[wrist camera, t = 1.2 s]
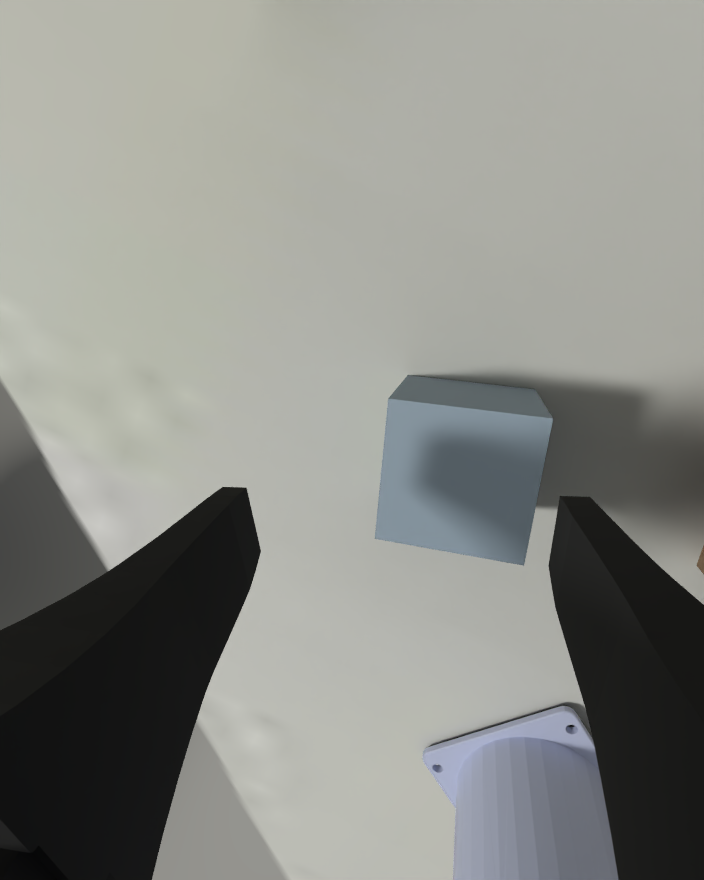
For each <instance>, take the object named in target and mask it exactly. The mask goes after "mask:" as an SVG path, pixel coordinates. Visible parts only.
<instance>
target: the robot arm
mask: <svg viewBox="0 0 704 880" xmlns="http://www.w3.org/2000/svg"><path fill="white" fill-rule="evenodd" d="M260 552H261V550H260V546H259V541H258V537H257V532H256V528H255V524H254V519H253V515H252V510H251V506H250V502H249V497H248V493H247V488H238V487H222V488H221V489H219V490H218V491H216V492H215V493H214V494H212V495H211V496H210V497H208V498H207V499H206V500H204V501H203V502H202V503H201V504H199V505H198V506H197V507H196V508H194V509H193V510H192V511H190V512H189V513H188V514H187V515H185V516H184V517H183V518H181V519H180V520H179V521H178V522H176V523H175V524H174V525H172V526H171V527H170V528H168V529H167V530H166V531H165V532H163V533H162V534H161V535H159V536H158V537H157V538H155V539H154V540H153V541H151V542H150V543H148V544H147V545H146V546H144V547H143V548H141V549H140V550H139V551H137V552H136V553H134V554H133V555H131V556H130V557H129V558H127V559H126V560H124V561H123V562H122V563H120V564H119V565H117V566H116V567H114V568H113V569H111V570H110V571H108V572H107V573H105V574H104V575H102V576H100V577H99V578H97V579H95V580H94V581H92V582H90V583H89V584H87V585H85V586H84V587H82V588H80V589H79V590H77V591H76V592H74V593H72V594H70V595H68V596H67V597H65V598H63V599H61V600H59V601H57V602H55V603H53V604H51V605H50V606H48V607H46V608H44V609H42V610H40V611H38V612H37V613H35V614H32V615H31V616H29V617H27V618H25V619H23V620H21V621H19V622H17V623H15V624H13V625H11V626H8V627H6V628H4V629H2V630H0V880H152V876H153V872H154V868H155V864H156V860H157V856H158V852H159V848H160V844H161V840H162V836H163V832H164V828H165V825H166V821H167V818H168V814H169V810H170V807H171V803H172V799H173V796H174V792H175V789H176V785H177V781H178V778H179V774H180V771H181V768H182V764H183V761H184V758H185V755H186V751H187V748H188V745H189V741H190V738H191V735H192V731H193V728H194V725H195V723H196V720H197V717H198V714H199V711H200V707H201V704H202V701H203V698H204V695H205V692H206V690H207V687H208V685H209V682H210V680H211V677H212V674H213V672H214V670H215V667H216V665H217V663H218V661H219V658H220V656H221V654H222V652H223V649H224V647H225V645H226V643H227V640H228V638H229V636H230V634H231V631H232V629H233V627H234V625H235V622H236V620H237V618H238V616H239V613H240V611H241V609H242V606H243V604H244V602H245V599H246V597H247V595H248V592H249V590H250V587H251V584H252V581H253V577H254V574H255V571H256V567H257V563H258V560H259V556H260ZM549 571H550V577H551V584H552V590H553V596H554V601H555V607H556V611H557V614H558V618H559V621H560V625H561V628H562V631H563V635H564V638H565V641H566V645H567V648H568V651H569V655H570V658H571V661H572V665H573V668H574V671H575V675H576V678H577V681H578V685H579V688H580V691H581V694H582V698H583V701H584V704H585V708H586V712H587V716H588V720H589V723H590V727H591V732H592V737H593V738H592V737H591V735H590V734H589V732H588V731H587V729H586V727H585V726H584V724H583V723H582V721H581V720H580V718H579V716H578V715H577V713H576V712H575V711H574V710H573V709H572V708H570V707H568V706H559V707H556V708H553V709H550V710H547V711H543V712H540V713H537V714H534V715H530V716H527V717H524V718H521V719H517V720H514V721H511V722H508V723H504V724H501V725H498V726H495V727H492V728H488V729H485V730H482V731H479V732H475V733H472V734H469V735H466V736H462V737H459V738H456V739H453V740H449V741H446V742H443V743H440V744H437V745H433V746H430V747H427V748H425V749H424V751H423V762H424V763H425V765H426V766H427V768H428V769H429V771H430V772H431V774H432V775H433V776H434V778H435V779H436V781H437V782H438V784H439V785H440V787H441V788H442V790H443V791H444V792H445V794H446V795H447V797H448V798H449V800H450V801H451V803H452V804H453V805H454V807H455V808H456V814H455V839H454V864H453V880H704V605H703V604H702V603H701V602H700V601H698V600H697V599H696V598H695V597H694V596H693V595H691V594H690V593H689V592H688V591H687V590H686V589H684V588H683V587H682V586H681V585H680V584H679V583H677V582H676V581H675V580H674V579H673V578H672V577H671V576H670V575H668V574H667V573H666V572H665V571H664V570H663V569H662V568H661V567H660V566H659V565H657V564H656V563H655V562H654V561H653V560H652V559H651V558H650V557H649V556H648V555H647V554H646V553H645V552H644V551H643V550H642V549H641V548H640V547H639V546H638V545H637V544H636V543H635V542H634V541H633V540H632V539H631V538H630V537H629V536H628V535H627V534H626V533H625V532H624V531H623V530H622V529H621V528H620V527H619V526H618V525H617V524H616V523H615V522H614V521H613V520H612V519H611V518H610V517H609V516H608V515H607V514H606V513H605V512H604V511H603V510H602V509H601V508H600V507H599V506H598V505H597V504H596V503H595V502H594V501H593V500H592V499H591V498H590V497H572V496H560V500H559V506H558V512H557V518H556V524H555V530H554V536H553V542H552V548H551V554H550V560H549ZM568 725H574V727H568ZM435 764H438V765H440V766H438V765H435Z"/></svg>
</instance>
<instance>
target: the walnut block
mask: <svg viewBox="0 0 704 880" xmlns="http://www.w3.org/2000/svg"><path fill="white" fill-rule="evenodd" d="M697 567H698V568H699V569H700V570H701V572H702V573H703V574H704V546H703V549H702V552H701V554H700V557H699V560H698V563H697Z"/></svg>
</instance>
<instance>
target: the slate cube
mask: <svg viewBox="0 0 704 880" xmlns="http://www.w3.org/2000/svg"><path fill="white" fill-rule="evenodd" d="M552 422H553V418H552V416H551V414H550V413H549V411H548V409H547V408H546V406H545V405H544V403H543V401H542V400H541V398H540V397H539V395H538V393H537V392H536V390H535V389H528V388H519V387H510V386H501V385H492V384H483V383H474V382H465V381H456V380H447V379H438V378H429V377H420V376H411V375H408V376H407V377H406V378H405V379H404V380H403V382H402V383H401V384H400V385H399V386H398V388H397V389H396V390H395V391H394V392H393V394H392V395H391V396H390V397H389V398H388V408H387V418H386V428H385V439H384V449H383V460H382V470H381V480H380V491H379V501H378V512H377V522H376V532H375V539H379V540H385V541H391V542H396V543H402V544H407V545H413V546H418V547H424V548H429V549H435V550H441V551H446V552H452V553H457V554H463V555H468V556H474V557H480V558H485V559H491V560H496V561H502V562H507V563H513V564H519V565H524V563H525V558H526V553H527V548H528V543H529V538H530V533H531V528H532V523H533V518H534V512H535V507H536V502H537V497H538V492H539V487H540V482H541V477H542V472H543V467H544V462H545V457H546V452H547V447H548V442H549V437H550V432H551V427H552Z"/></svg>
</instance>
